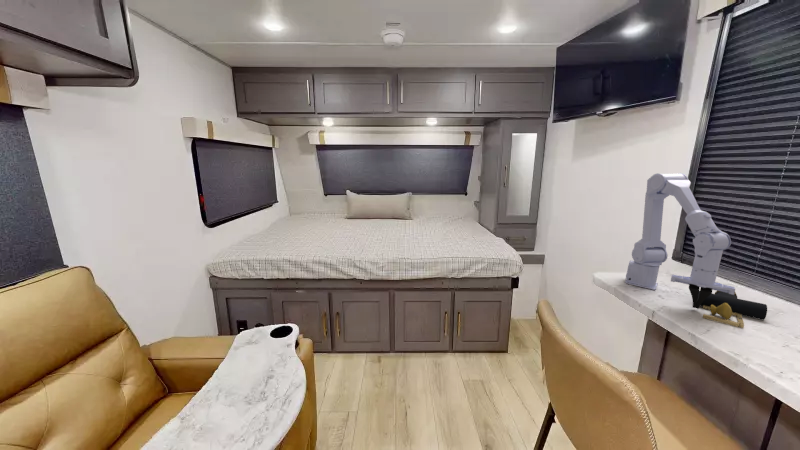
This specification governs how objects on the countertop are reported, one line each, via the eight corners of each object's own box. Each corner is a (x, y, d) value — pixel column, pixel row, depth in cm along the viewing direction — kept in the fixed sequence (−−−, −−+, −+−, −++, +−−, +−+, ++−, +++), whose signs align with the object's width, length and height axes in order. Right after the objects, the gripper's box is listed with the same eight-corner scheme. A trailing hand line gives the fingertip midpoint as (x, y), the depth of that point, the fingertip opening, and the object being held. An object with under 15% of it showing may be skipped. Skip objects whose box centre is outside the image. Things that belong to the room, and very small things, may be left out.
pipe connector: (696, 282, 107) (759, 293, 98) (693, 295, 109) (755, 308, 99) (699, 293, 99) (768, 307, 89) (696, 307, 100) (763, 323, 91)
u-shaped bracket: (702, 317, 93) (703, 314, 93) (702, 307, 99) (703, 304, 99) (743, 328, 87) (744, 325, 87) (740, 316, 94) (741, 313, 93)
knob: (732, 317, 93) (736, 303, 92) (727, 322, 90) (731, 307, 89) (711, 311, 97) (715, 297, 96) (706, 315, 94) (710, 301, 93)
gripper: (673, 266, 96) (665, 303, 100) (740, 278, 86) (728, 320, 90) (674, 260, 101) (667, 296, 104) (737, 272, 91) (727, 311, 94)
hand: (695, 307), depth 97 cm, fingers closed
